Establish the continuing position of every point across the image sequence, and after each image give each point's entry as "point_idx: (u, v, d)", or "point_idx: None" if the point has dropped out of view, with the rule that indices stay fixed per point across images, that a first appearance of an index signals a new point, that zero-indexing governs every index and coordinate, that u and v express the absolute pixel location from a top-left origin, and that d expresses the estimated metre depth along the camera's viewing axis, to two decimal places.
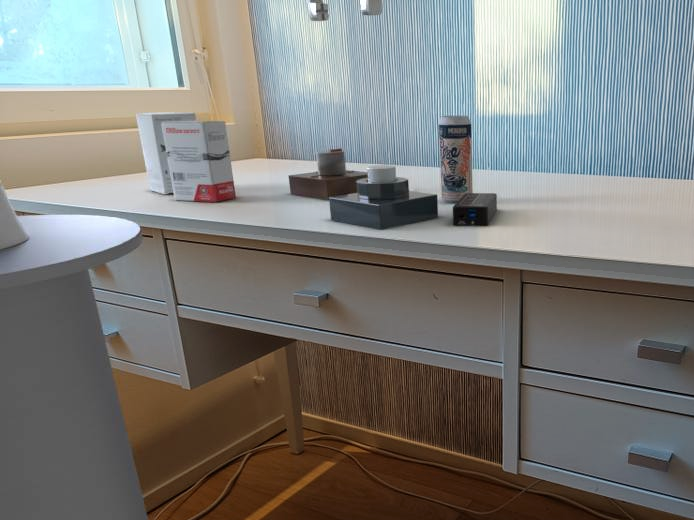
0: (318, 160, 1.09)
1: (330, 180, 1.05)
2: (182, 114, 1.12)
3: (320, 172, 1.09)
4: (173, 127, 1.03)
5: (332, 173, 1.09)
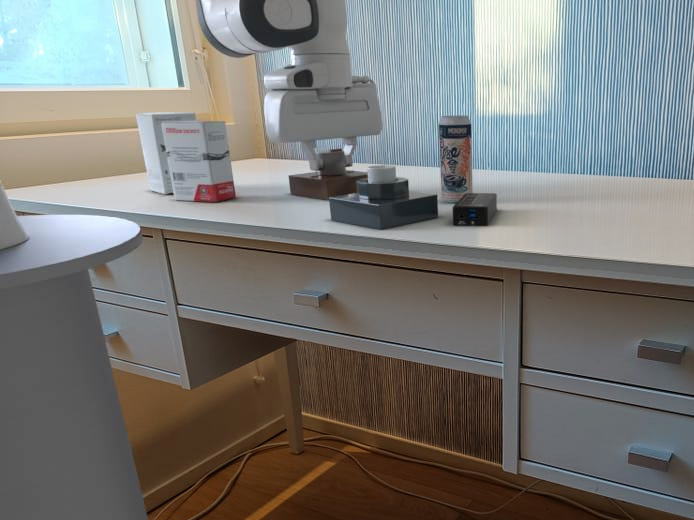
0: None
1: (330, 180, 1.05)
2: (182, 114, 1.12)
3: (320, 172, 1.09)
4: (173, 127, 1.03)
5: (332, 173, 1.09)
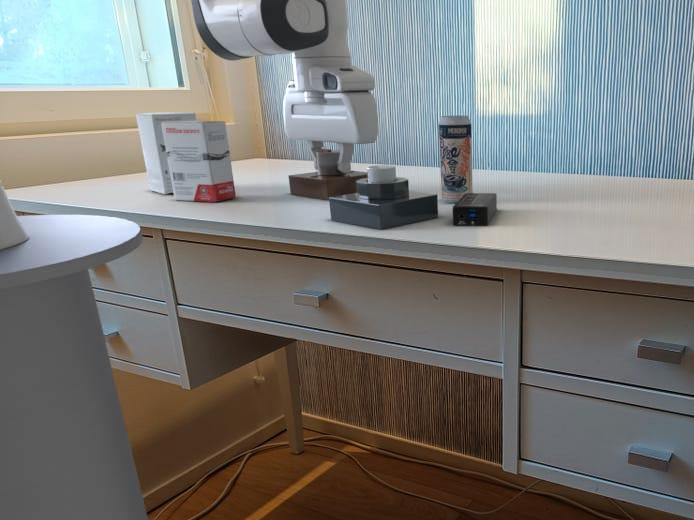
0: (336, 160, 1.08)
1: (330, 180, 1.05)
2: (182, 114, 1.12)
3: (339, 172, 1.09)
4: (173, 127, 1.03)
5: None
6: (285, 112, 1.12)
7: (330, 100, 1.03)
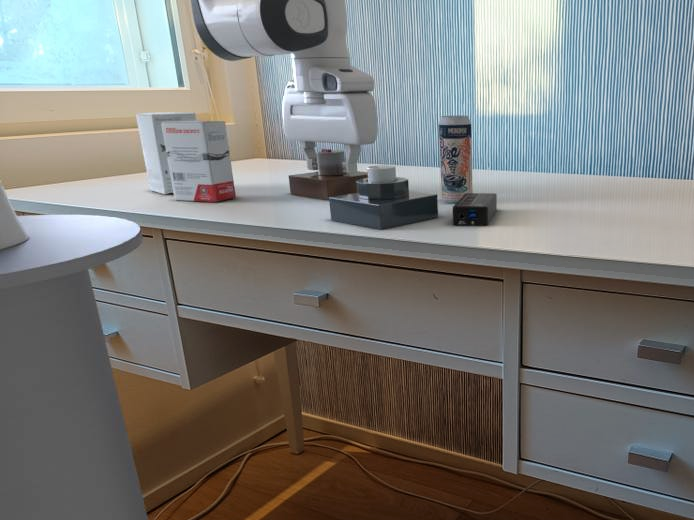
0: (336, 160, 1.08)
1: (330, 180, 1.05)
2: (182, 114, 1.12)
3: (339, 172, 1.09)
4: (173, 127, 1.03)
5: None
6: (284, 113, 1.12)
7: (329, 101, 1.03)
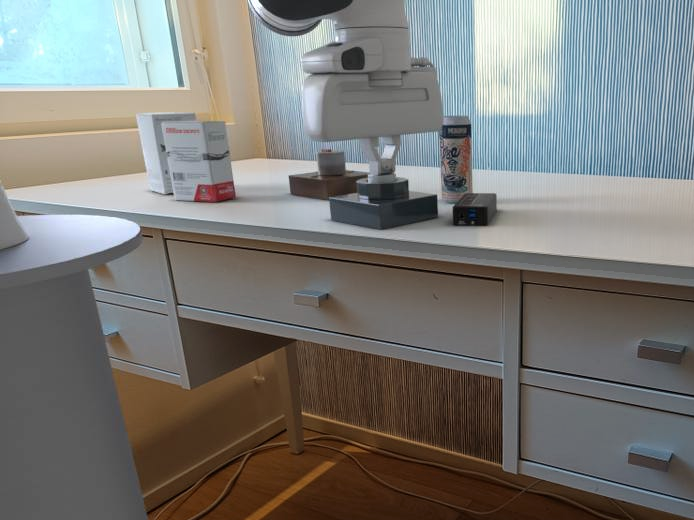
0: (336, 160, 1.08)
1: (330, 180, 1.05)
2: (182, 114, 1.12)
3: (339, 172, 1.09)
4: (173, 127, 1.03)
5: (345, 171, 1.11)
6: None
7: None
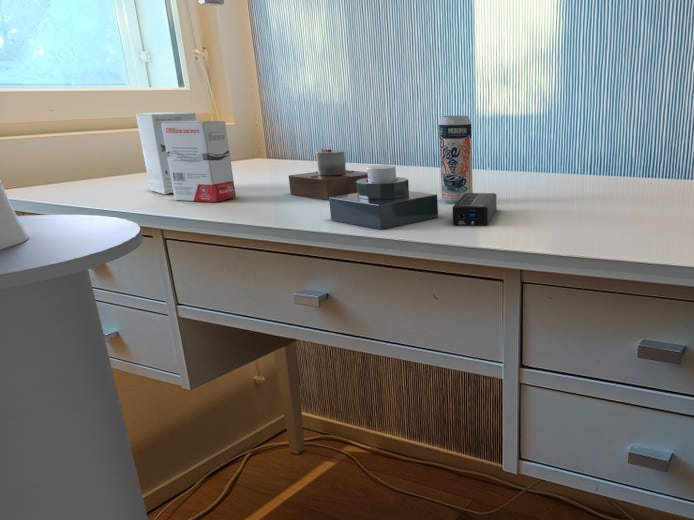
0: (336, 160, 1.08)
1: (330, 180, 1.05)
2: (182, 114, 1.12)
3: (339, 172, 1.09)
4: (173, 127, 1.03)
5: (345, 171, 1.11)
6: None
7: None
